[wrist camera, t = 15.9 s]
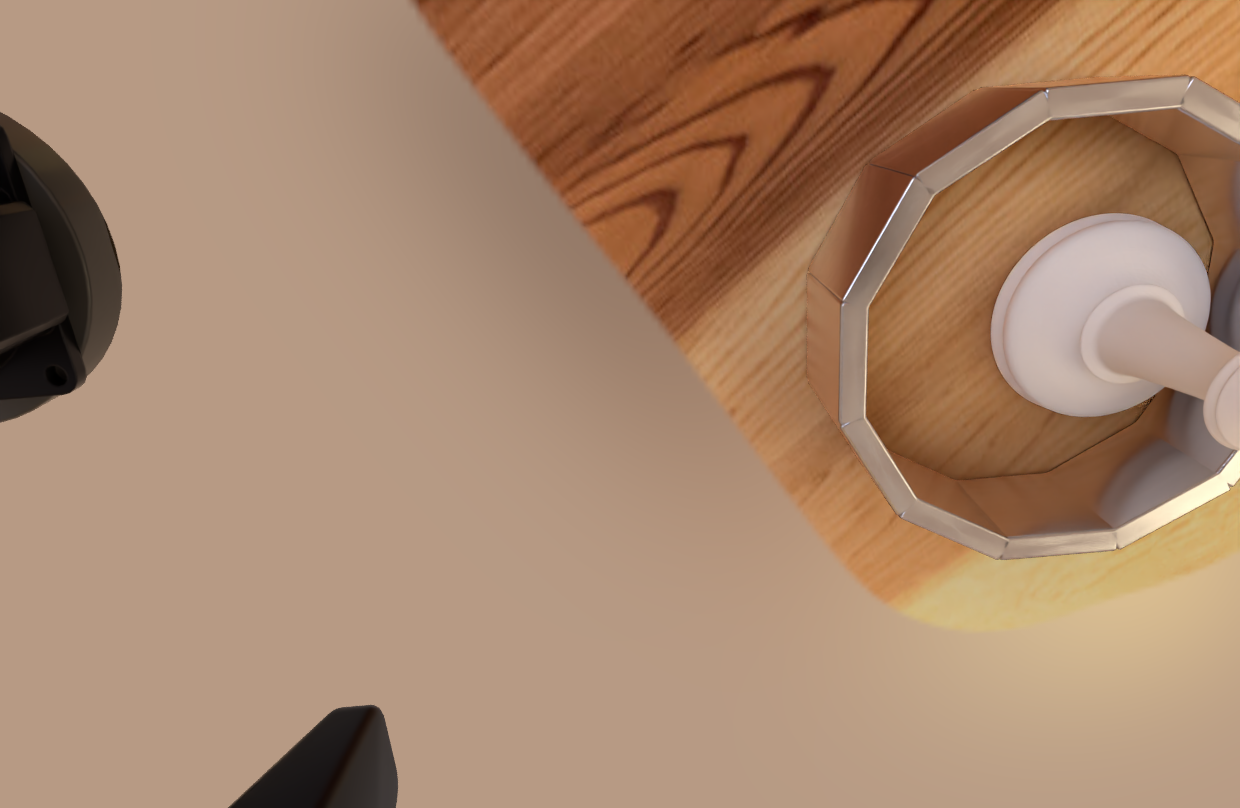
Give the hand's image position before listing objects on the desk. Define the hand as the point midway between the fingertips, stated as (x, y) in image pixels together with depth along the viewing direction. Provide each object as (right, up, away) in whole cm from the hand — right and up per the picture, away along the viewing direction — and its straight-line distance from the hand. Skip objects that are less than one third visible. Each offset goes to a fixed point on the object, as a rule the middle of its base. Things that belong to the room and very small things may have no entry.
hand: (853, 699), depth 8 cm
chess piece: (+9, +5, +12) cm, 16 cm away
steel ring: (+7, +5, +12) cm, 15 cm away
